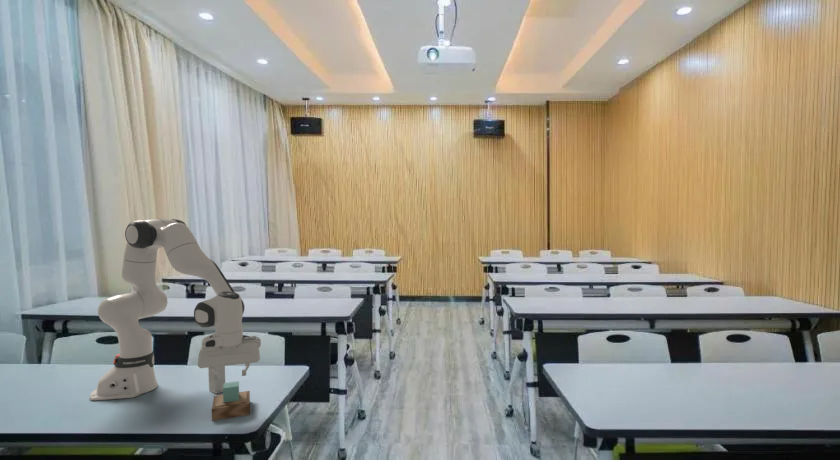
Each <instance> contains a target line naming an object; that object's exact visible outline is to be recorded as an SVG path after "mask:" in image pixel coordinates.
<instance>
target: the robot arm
mask: <svg viewBox="0 0 840 460" xmlns="http://www.w3.org/2000/svg"><path fill="white" fill-rule="evenodd" d="M124 234H125V236H124V237H125V240H126V244H125V248H124V251H123V259H122V260H123V261H122V266H121V267H122V270H121V278H122V279H123V281H124V282H125V283H127V284H129V285H132V291H131V292H128V293H127V292H126V293H122V294H115V295H113V296H110V297H108V298H105V299H103V300H102V301H101V302H100V304H99V306H98V309H97V314H98V317H99V319H100V320H101V321H102V322H103V323H104V324H107V326H110V327H111V328H112V329H113V330H114V332H115V333H116V336H117V340H118V348H119V349H118V350H119V354H116V355H115V356H114V359H113V367H111V368H110V369H109V370H108V371H107V372H106V373H105V374H103V375H102V376H101V377H100V378H99V379H98V382H97V386H96V388H95V389H94V390H93V391H92V392H91V393H90V395H89V399H90V401H106V400H115V399H116V400H117V399H119V400H120V399H132V398H136V397H138V396H140V395H142V394H146V393H149V392H150V391H153V390H155V389H157V388H158V386H159V382H158V381H157V380H158V379H157V378H156V375H155V374H156V373H155V368H154V365H155V355H154V354H155V353H154V351H153V339H152V338H153V336H152V333H151V332H150V330H148V329H147V328H144V327H141V326H140V322H139V320H141V319H145V318H146V319H147V318H151V317H153V316H156V315H158V314H160V313H162V312H164V311H165V310H166V308H167V306H168V297H167V295H166V293H165V292H164V291H162V290H161V289H160V288H159V287H158V285H157V282H156V265H157V257H158V249H161V248H163V249H164V252H165V254H166V257H167V259H168V261H169V264H170V265H171V267H172V268H173V269H174V270H175V271H176V272H178V273H180V274H183V275H188V276H192V277H193V276H194V277H197V278H201V279H203V280H205V281H206V282H207V283H209V285H210V287H211V288H212V290H213V291H214V293H215V294H216V295H215V296H214V297H211V298H209V299H205V300H203V301H200V302H198V303H197V304H196V305H195V307H194V309H193V318H194V322H195V323H196V324H197V326H199V327H201V328H212V327H213V328H215V333H212V334H211V335H207V336H204V337H203V338H202V340H201V347H200V349H199V352H198V355H197V356H198V357H197V358H198V359H197V367H199V368H200V369H206V368H208V367H209V370H208V372H209V371H210V372H211V373H212V375H213V379H218V373H215V372H214V367H218V366H225V367H226V366H235V365H243V364H244V365H245V368H244V369H242V370H241V377H245V376H247V371H248V369H249V368H250V366H251V365H250V364H253V363H254V364H255V363H259V361H260V360H261V355H260V354H261V353H260V348H261V344H262V340H261V338H260V337H257V336H256V335H251V336H244V335H243V334H244V331H243V329H244V328H243V322H242V321H243V317H244V312H245V303H244V300H243V299H242V298H241V295H240V294H239V293H237V292H236V291H235V290H234V289H233V287H232V285H231V284H230V283H229V281H228V279H227V278H226V277H225V275H224V273H223V272H222V270H221V269H220V267H219V266H218V265H217V263H216V262H215V261H213V260H212V259H210V258H209V257H208V256H207V255H206V254H205V253H204V251H203V250H202V248H201V247H200V245H199V243H198V241H197V238H196V237H195V236H194V234H193V232H192V230H191V229H190V228H189V226H187V224H186V223H185V222H184V221H183V220H180V219H176V218H171V219H169V218H152V219H151V218H150V219H138V220H134V221H131V222H129V223H128V225H127V226H126V228H125V232H124Z"/></svg>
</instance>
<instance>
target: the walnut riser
mask: <svg viewBox="0 0 840 460" xmlns="http://www.w3.org/2000/svg"><path fill="white" fill-rule="evenodd" d="M250 394H251V392H250V390H245V391H239V400H237V401H231V402H224V403H223V394H215V395H213V400H212V405H211V421H212V422H213V421H218V420H226V419H232V418H238V417H243V416H251V395H250Z"/></svg>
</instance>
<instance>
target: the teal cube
mask: <svg viewBox="0 0 840 460" xmlns="http://www.w3.org/2000/svg"><path fill="white" fill-rule="evenodd" d="M239 392H240V381H231V382H225V383H224V384H223V392H222V395H223V403H224V402H231V401H237V400H239Z"/></svg>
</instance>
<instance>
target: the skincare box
mask: <svg viewBox="0 0 840 460" xmlns="http://www.w3.org/2000/svg"><path fill="white" fill-rule="evenodd" d="M207 370H208V391H210V392H212V394H215V395H218V394H219V393H223V384H224V383H226V366H218V367H214V372H215V373H218V379H213V375H212V373H211V372H210V371H209V367H208V369H207Z"/></svg>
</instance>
